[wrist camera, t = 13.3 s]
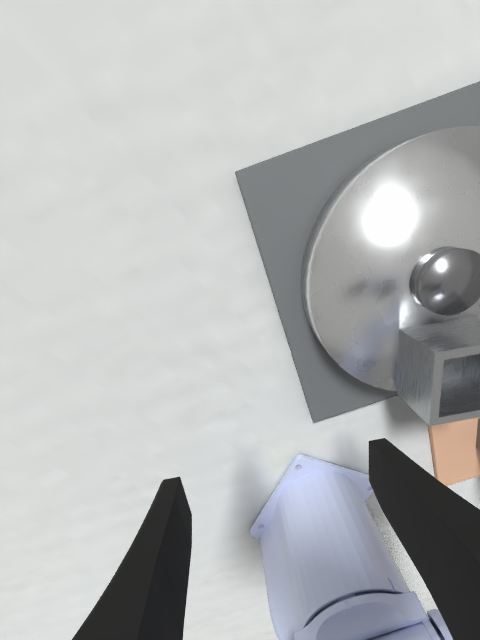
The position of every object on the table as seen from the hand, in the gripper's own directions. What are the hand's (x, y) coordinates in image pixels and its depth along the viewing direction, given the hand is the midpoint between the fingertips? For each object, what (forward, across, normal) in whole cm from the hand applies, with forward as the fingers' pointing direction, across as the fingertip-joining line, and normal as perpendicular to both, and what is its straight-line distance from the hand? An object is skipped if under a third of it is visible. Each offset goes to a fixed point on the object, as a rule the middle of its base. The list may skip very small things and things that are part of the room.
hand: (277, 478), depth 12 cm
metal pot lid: (+10, -11, -4) cm, 16 cm away
